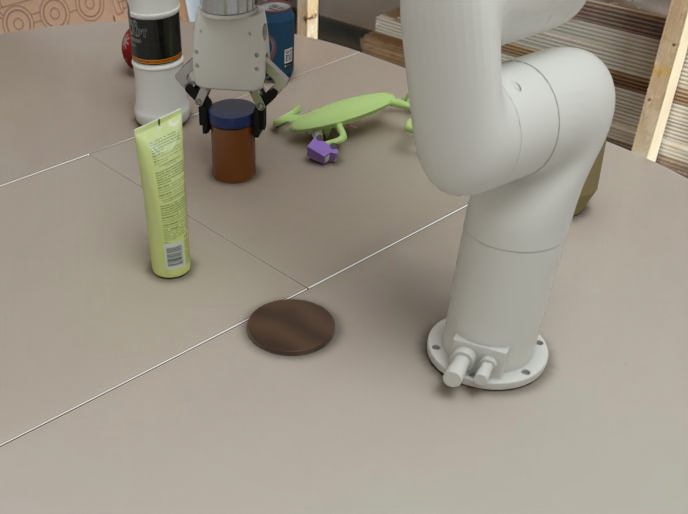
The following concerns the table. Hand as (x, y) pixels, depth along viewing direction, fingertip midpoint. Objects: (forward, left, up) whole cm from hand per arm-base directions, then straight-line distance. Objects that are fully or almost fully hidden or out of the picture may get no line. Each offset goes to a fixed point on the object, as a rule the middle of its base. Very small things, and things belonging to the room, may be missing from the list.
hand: (232, 131), depth 118 cm
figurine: (+19, -13, -7) cm, 24 cm away
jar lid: (0, 0, +3) cm, 3 cm away
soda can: (+36, +11, -7) cm, 38 cm away
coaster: (-31, -24, -7) cm, 40 cm away
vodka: (+12, +20, -7) cm, 24 cm away
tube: (-26, -5, -7) cm, 27 cm away
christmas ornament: (+29, +34, -7) cm, 45 cm away
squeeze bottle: (+9, -45, -7) cm, 46 cm away
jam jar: (0, 0, -7) cm, 7 cm away
